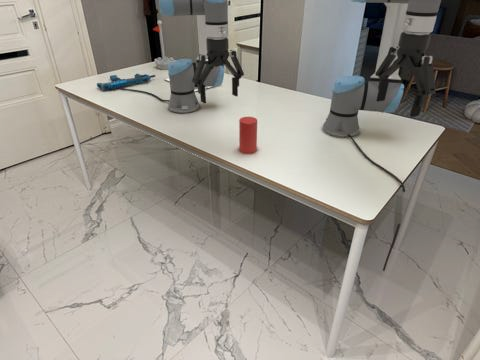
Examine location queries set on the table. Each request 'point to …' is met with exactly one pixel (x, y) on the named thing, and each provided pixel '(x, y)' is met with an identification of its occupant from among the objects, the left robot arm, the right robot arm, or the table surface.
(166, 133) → the table surface
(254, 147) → the canister
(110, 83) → the submachine gun
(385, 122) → the table surface
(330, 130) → the right robot arm
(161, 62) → the flag stand
